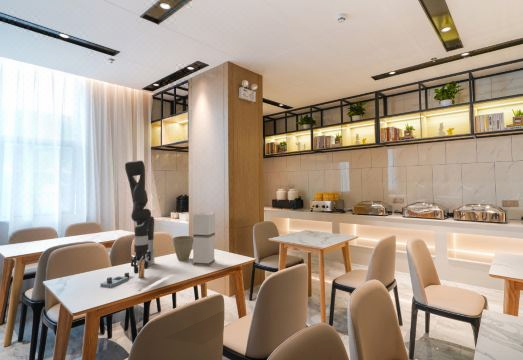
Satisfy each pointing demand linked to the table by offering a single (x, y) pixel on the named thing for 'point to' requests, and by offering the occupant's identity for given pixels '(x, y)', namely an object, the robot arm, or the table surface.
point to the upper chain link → (113, 281)
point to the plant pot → (183, 247)
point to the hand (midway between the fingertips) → (141, 271)
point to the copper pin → (141, 269)
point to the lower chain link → (127, 276)
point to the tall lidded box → (203, 239)
